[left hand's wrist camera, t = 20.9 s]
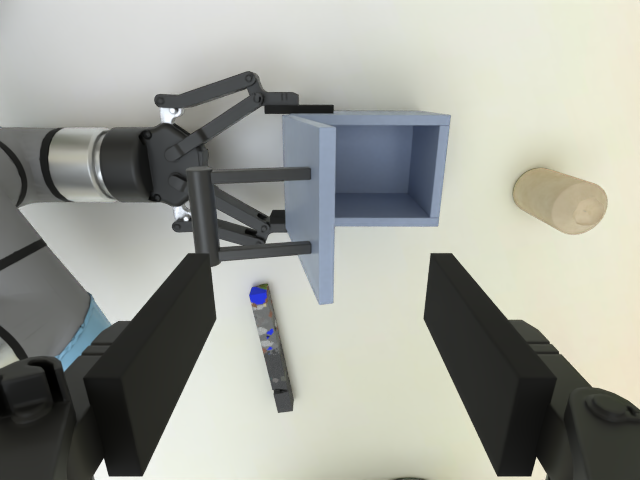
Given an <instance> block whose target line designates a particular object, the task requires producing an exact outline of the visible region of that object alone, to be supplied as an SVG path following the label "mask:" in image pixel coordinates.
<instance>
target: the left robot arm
mask: <svg viewBox="0 0 640 480" xmlns="http://www.w3.org/2000/svg"><path fill="white" fill-rule="evenodd" d="M215 321H216V311H215V301H214V292H213V283H212V274H211V265H210V255H209V253H188V254H187V255H186V257H185V258H184V259H183V260H182V261H181V263H180V264H179V265H178V266H177V267H176V268H175V270H174V271H173V272H172V273H171V274H170V276H169V277H168V278H167V279H166V280H165V281H164V283H163V284H162V285H161V286H160V287H159V289H158V290H157V291H156V292H155V293H154V294H153V296H152V297H151V298H150V299H149V300H148V302H147V303H146V304H145V305H144V306H143V307H142V309H141V310H140V311H139V312H138V313H137V315H136V316H135V317H134V318H133V319H132V320H131V321H118V322H116V323H115V324H113V325H111V326H110V327H108V328H106V329H105V330H103V331H102V332H101V333H100V334H99V335H98V336H97V337H96V338H95V339H94V340H93V341H92V342H91V345H90V346H88V347H87V348H86V349H85V350H84V351H83V352H82V353H81V356H78V357H77V358H76V359H75V361H74V362H73V363H72V364H71V365H70V366H69V367H68V368H67V369H66V370H65V371H64V370H63V367H62V363H61V361H60V360H58V359H57V358H56V357H52V356H36V357H29V358H26V359H23V360H19V361H16V362H13V363H11V364H9V365H7V366H5V367H3V368H0V480H95V479H94V476H93V475H94V474H95V472H96V470H97V469H98V467H99V465H100V463H101V462H102V460H103V458H104V460H105V464H106V467H107V471H108V475H109V476H143V474H144V472H145V470H146V468H147V466H148V464H149V462H150V459H151V457H152V455H153V453H154V451H155V449H156V447H157V444H158V442H159V440H160V438H161V436H162V434H163V432H164V430H165V427H166V425H167V423H168V421H169V419H170V417H171V415H172V412H173V410H174V408H175V406H176V404H177V402H178V400H179V397H180V395H181V393H182V391H183V389H184V387H185V385H186V383H187V380H188V378H189V376H190V374H191V372H192V370H193V368H194V365H195V363H196V361H197V359H198V357H199V355H200V353H201V351H202V348H203V346H204V344H205V342H206V340H207V338H208V336H209V333H210V331H211V329H212V327H213V325H214V323H215ZM424 321H425V323H426V325H427V327H428V329H429V331H430V333H431V336H432V338H433V340H434V342H435V344H436V346H437V348H438V351H439V353H440V355H441V357H442V359H443V361H444V363H445V365H446V368H447V370H448V372H449V374H450V376H451V378H452V380H453V383H454V385H455V387H456V389H457V391H458V393H459V395H460V397H461V400H462V402H463V404H464V406H465V408H466V410H467V412H468V415H469V417H470V419H471V421H472V423H473V425H474V427H475V429H476V432H477V434H478V436H479V438H480V440H481V442H482V444H483V447H484V449H485V451H486V453H487V455H488V457H489V459H490V462H491V464H492V466H493V468H494V470H495V472H496V474H497V476H531V475H532V471H533V467H534V464H535V460H536V457H537V458H538V460H539V461H540V463H541V465H542V466H543V468H544V470H545V471H546V473H547V476H546V479H545V480H640V410H639V409H638V408H637V407H636V406H634V405H633V404H632V403H631V402H629V401H628V400H626V399H624V398H622V397H620V396H618V395H617V394H615V393H612V392H609V391H606V390H603V389H600V388H593V387H592V386H591V385H590V384H589V383H588V382H587V381H586V380H585V379H584V378H583V377H582V376H581V375H580V374H579V373H578V372H577V370H576V369H575V368H574V367H573V366H572V365H571V364H570V363H569V362H568V361H567V360H566V359H565V358H564V357H563V356H562V355H561V354H559V351H558V350H557V349H556V348H555V347H554V346H553V345H552V344H550V342H549V341H548V340H547V339H546V337H545V336H544V335H543V334H542V333H541V332H540V331H539V330H538V329H536V328H534V327H533V326H531V325H529V324H528V323H526V322H524V321H523V320H508V319H507V318H506V317H505V316H504V315H503V313H502V312H501V311H500V310H499V309H498V307H497V306H496V305H495V304H494V303H493V302H492V300H491V299H490V298H489V297H488V296H487V294H486V293H485V292H484V291H483V290H482V289H481V287H480V286H479V285H478V284H477V283H476V281H475V280H474V279H473V278H472V277H471V276H470V274H469V273H468V272H467V271H466V270H465V268H464V267H463V266H462V265H461V264H460V263H459V261H458V260H457V259H456V258H455V257H454V255H453V254H452V253H431V255H430V265H429V274H428V283H427V292H426V301H425V311H424ZM399 480H421V479H399Z"/></svg>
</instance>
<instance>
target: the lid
mask: <svg viewBox="0 0 640 480" xmlns="http://www.w3.org/2000/svg"><path fill="white" fill-rule="evenodd" d="M282 124H283V156H284V167H280V168H252V169H224V170H212V168H211V167H190V168H187V169H186V178H187V186H188V194H189V203H190V211H191V219H192V228H193V236H194V244H195V253H209V255H210V265H211V267H213V266H216V265H218V264H220V263H221V261H231V260H243V259H255V258H267V257H279V256H291V255H298V257H299V259H300V262H301V264H302V266H303V269H304V271H305V273H306V276H307V278H308V280H309V282H310V285H311V287H312V289H313V292H314V294H315V296H316V298H317V301H318V303H319V305H322V304H331V303H333V292H334V229H335V166H336V127H333V126H330V125H326V124H323V123H319V122H315V121H312V120H308V119H305V118H301V117H297V116H294V115H282ZM274 181H284V188H285V221H286V230H287V232H288V234H289V236H290V239H291V241H292V242H284V243H271V244H258V245H245V246H231V247H220V244H219V233H218V223H217V212H216V202H215V192H214V184H227V183H250V182H274Z"/></svg>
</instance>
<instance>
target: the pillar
mask: <svg viewBox="0 0 640 480" xmlns="http://www.w3.org/2000/svg"><path fill="white" fill-rule="evenodd" d="M249 296H250V300H251V304H252V308H253V313H254V317H255V321H256V325H257V329H258V333H259V337H260V341H261V345H262V349H263V353H264V357H265V361H266V365H267V369H268V374H269V378H270V382H271V386H272V390H274V398H275V402H276V406H277V410H278V413H281V412H289V411H293V402H294V399H293V395H292V390H291V386H290V381H289V378H288V372H287V368H286V364H285V359H284V355H283V350H282V346H281V341H280V337H279V332H278V328H277V323H276V319H275V315H274V310H273V306H272V301H271V297H270V292H269V288H268V284H263V285H260V286H257V287H252V289H251V292H250V294H249Z"/></svg>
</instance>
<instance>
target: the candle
mask: <svg viewBox="0 0 640 480" xmlns="http://www.w3.org/2000/svg"><path fill="white" fill-rule="evenodd" d="M513 197H514V201H515V203H516V204H517V206H518V207H519V208H520V209H522V210H524V211H525V212H527V213H529V214H530V215H532V216H534V217H536V218H538V219H539V220H541V221H543V222H545V223H547V224H548V225H550V226H552V227H554V228H556V229H557V230H559V231H561V232H563V233H566V234H571V235H576V234H581V233H584V232H587V231H589V230H591V229H592V228H594V227H595V226H596V225H597V224H598V223H599V222H600V221H601V219H602V218H603V216H604V215H605V212H606V209H607V196H606V193H605V192H604V190H603V189H602V188H601V187H600V186H598V185H597V184H594V183H591V182H588V181H585V180H582V179H578V178H575V177H572V176H569V175H566V174H562V173H559V172H556V171H553V170H549V169H545V168H536V169H532V170H529V171H528V172H526V173H524V174H523V175H522V176H521V177H520V178H519V179H518V181H517V182H516V184H515V187H514V191H513Z"/></svg>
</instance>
